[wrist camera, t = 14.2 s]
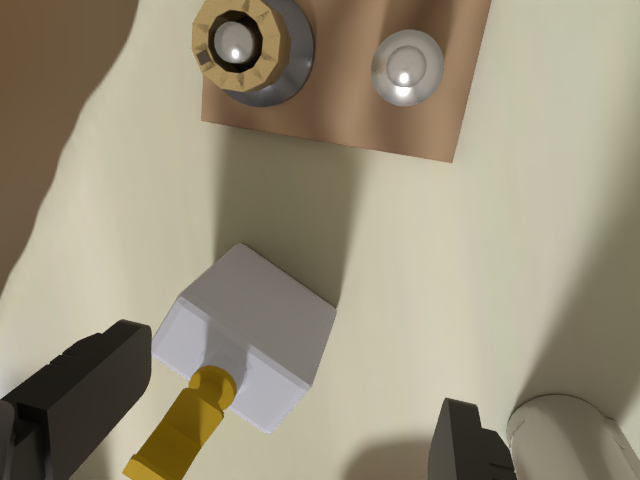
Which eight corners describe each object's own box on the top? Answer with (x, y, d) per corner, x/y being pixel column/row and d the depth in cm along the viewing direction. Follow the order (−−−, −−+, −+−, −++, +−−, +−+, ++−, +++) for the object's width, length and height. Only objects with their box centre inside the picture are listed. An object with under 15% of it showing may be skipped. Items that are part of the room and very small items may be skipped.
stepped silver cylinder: (448, 38, 34) (456, 28, 28) (433, 109, 36) (437, 114, 30) (380, 30, 35) (373, 18, 29) (369, 99, 36) (360, 102, 30)
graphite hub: (322, -5, 35) (303, -25, 29) (307, 114, 38) (287, 119, 32) (213, -19, 36) (172, -40, 30) (207, 98, 39) (170, 100, 33)
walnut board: (491, -12, 34) (495, -16, 32) (450, 160, 38) (452, 163, 37) (216, -43, 37) (208, -48, 35) (208, 119, 41) (201, 120, 40)
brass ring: (270, -17, 32) (255, -28, 29) (303, 70, 34) (292, 68, 31) (196, 21, 34) (176, 15, 31) (231, 103, 36) (214, 104, 33)
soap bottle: (340, 308, 45) (271, 517, 23) (305, 352, 47) (212, 579, 25) (240, 238, 44) (73, 382, 23) (210, 286, 47) (33, 457, 25)
